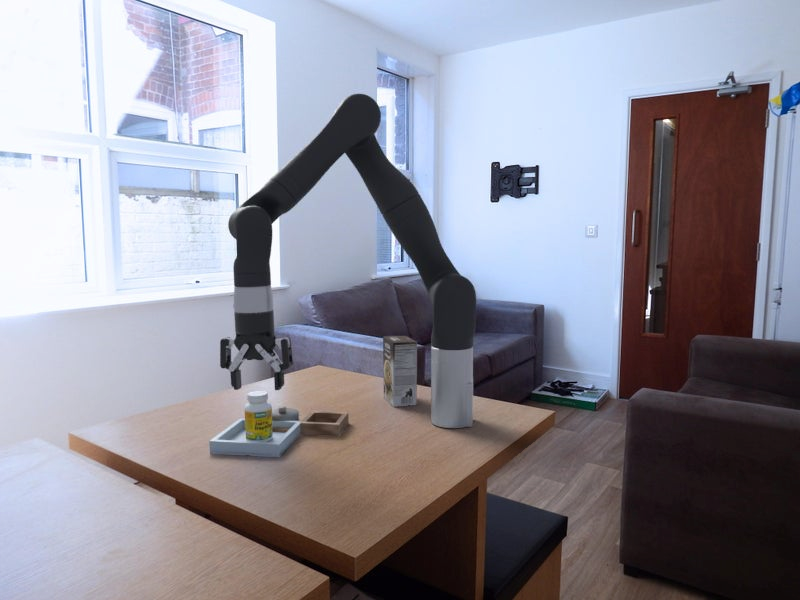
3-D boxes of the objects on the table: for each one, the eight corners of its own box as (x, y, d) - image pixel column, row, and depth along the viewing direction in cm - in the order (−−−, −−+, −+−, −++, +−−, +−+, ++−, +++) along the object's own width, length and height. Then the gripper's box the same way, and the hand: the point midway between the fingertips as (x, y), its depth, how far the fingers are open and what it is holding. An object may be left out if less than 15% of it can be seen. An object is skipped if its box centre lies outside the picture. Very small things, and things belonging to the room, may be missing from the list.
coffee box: (382, 397, 149) (382, 336, 147) (406, 395, 151) (406, 334, 149) (392, 407, 140) (392, 342, 138) (417, 405, 142) (417, 340, 140)
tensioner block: (349, 422, 129) (349, 403, 129) (338, 437, 119) (337, 416, 119) (269, 418, 132) (268, 400, 131) (252, 433, 122) (251, 413, 122)
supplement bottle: (264, 433, 120) (262, 388, 119) (277, 439, 117) (276, 393, 116) (240, 439, 117) (238, 393, 116) (254, 446, 113) (252, 398, 112)
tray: (302, 432, 122) (302, 421, 122) (279, 457, 109) (279, 444, 108) (240, 429, 125) (240, 418, 124) (209, 453, 111) (209, 441, 110)
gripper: (294, 306, 116) (298, 385, 118) (227, 306, 118) (232, 383, 120) (282, 311, 109) (285, 395, 110) (211, 311, 111) (215, 393, 112)
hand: (257, 389), depth 115 cm, fingers open, 8 cm apart
